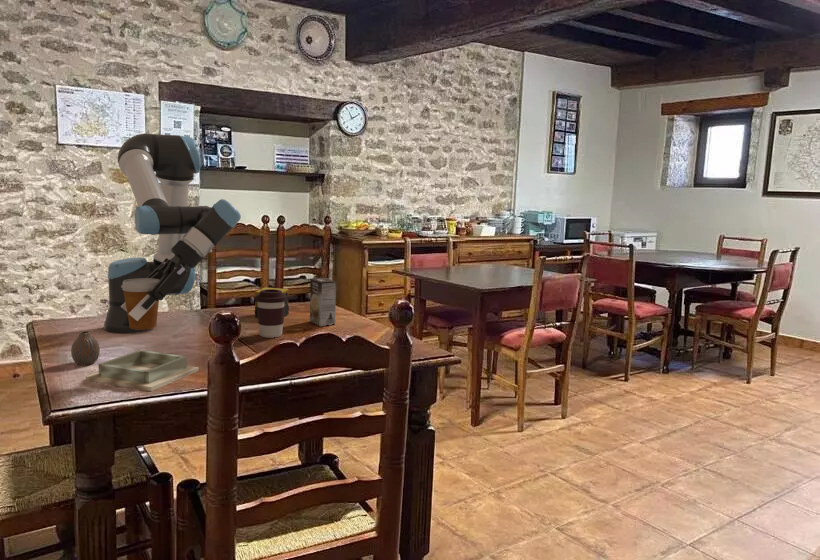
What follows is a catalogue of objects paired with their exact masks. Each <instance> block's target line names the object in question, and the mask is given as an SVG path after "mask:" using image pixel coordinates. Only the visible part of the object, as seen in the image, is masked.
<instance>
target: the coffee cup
mask: <svg viewBox="0 0 820 560" xmlns="http://www.w3.org/2000/svg"><path fill="white" fill-rule="evenodd" d="M260 290H261V289H260ZM254 297H255V298H254V299H255V300H256V301H257V303H258V306H257V313H258V318H257V323H258V328H259V329H258V331H259V332H258V333H259V336H260V337H262V338H268V339H271V338H272V339H273V338H274V337H275V338H279V337H281V336H282V335H283V328H284V327H283V326H284V322H285V321H284V319H285V317H284V311H285V306H284V302H285V301H286V295H284V294H283V293H282V291H281V290H276V289H266V290H261V291H260V294H258V295H256V296H254Z"/></svg>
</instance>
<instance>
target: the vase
mask: <svg viewBox="0 0 820 560" xmlns="http://www.w3.org/2000/svg"><path fill="white" fill-rule="evenodd" d="M100 351H101V349H100V344H99V342H98V340H97V339H96V338H95V337H94V336H93V335H92V334H91V332H90V330H89V331H88V330H83V331H80V332H79V334H78V335H77V337H76V338H75V339H74V341H73V343H72V344H71V349H70V354H71V358H72V360H73V361H74V363H75V364H77V365H79V366H91V365H94V364H95V363H96V362H97V361H98V359H99V357H100V354H101V353H100Z"/></svg>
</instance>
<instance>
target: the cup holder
mask: <svg viewBox="0 0 820 560" xmlns="http://www.w3.org/2000/svg"><path fill="white" fill-rule="evenodd" d="M187 359H188V358H187V356H185V355H179V354H174V353H172V354H171V353H164V352H157V351H151V350H145V349H144V350H136V351H132V352H130V353H127V354H124V355H121V356H118V357H115V358H112V359H108V360H106V361H103V362H100V363H98V371H97V372H94V373H91V374H88V375H86V376H85V381H87V382H95V383H99V384H106V385H113V386H117V387H125V388H131V389H135V390H142V391H147V392H148V391H149V392H154V391H155V390H158V389H160V388H162V387H165V386H167V385H169V384H171V383H174V382H176V381H178V380H180V379H183V378H186V377H188V376H190V375H192V374H195V373H197V372H199V371H200V370H199V367H197V366H192V365H187V362H188V361H187Z"/></svg>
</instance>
